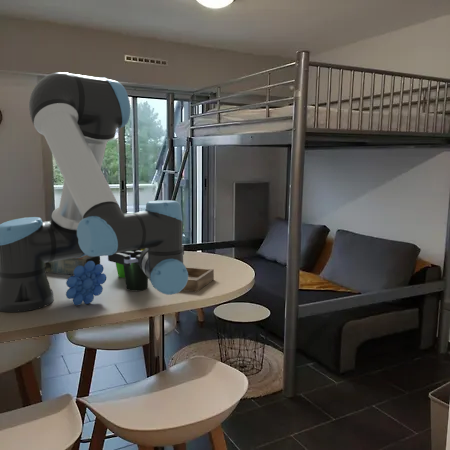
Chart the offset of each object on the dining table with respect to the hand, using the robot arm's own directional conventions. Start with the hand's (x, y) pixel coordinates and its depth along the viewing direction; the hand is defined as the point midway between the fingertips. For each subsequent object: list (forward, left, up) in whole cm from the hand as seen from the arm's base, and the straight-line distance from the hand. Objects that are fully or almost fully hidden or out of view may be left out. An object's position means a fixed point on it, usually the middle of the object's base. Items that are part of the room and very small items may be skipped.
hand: (142, 247), depth 122 cm
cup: (-18, +19, -15) cm, 30 cm away
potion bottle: (-7, +8, -15) cm, 18 cm away
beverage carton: (-39, +17, -15) cm, 45 cm away
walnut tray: (+5, +18, -15) cm, 24 cm away
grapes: (-13, -9, -15) cm, 22 cm away
